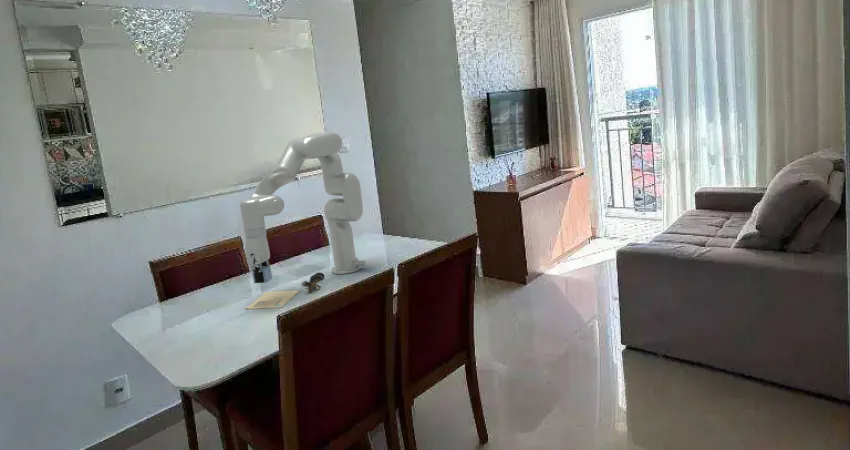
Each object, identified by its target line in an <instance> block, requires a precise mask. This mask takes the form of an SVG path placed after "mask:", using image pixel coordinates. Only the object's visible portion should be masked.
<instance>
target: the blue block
mask: <svg viewBox="0 0 850 450" xmlns="http://www.w3.org/2000/svg"><path fill="white" fill-rule="evenodd" d="M251 272H252V273H251V274H252V279H253V284H257V283H256V282H255V277H254V273H253V270H252V269H251ZM261 272H263V277H264V282H263V283H262V284H267V283H269V282H270V281H271V280H273V274H272V269H271V265H269V266H261Z"/></svg>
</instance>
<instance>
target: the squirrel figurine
mask: <svg viewBox="0 0 850 450" xmlns="http://www.w3.org/2000/svg"><path fill="white" fill-rule="evenodd" d="M324 280H325V274H324V273H323V272H316V273H314V274H313V275H312V276H310V278H309V281H307V280H305V281H302V283H301V287H303V288H305V287H306V288H305V290H308V294H311V293H312V290H313V289H316V290H318V291H320V285H318V284H317V283H320V282H321V281H324Z"/></svg>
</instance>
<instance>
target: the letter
mask: <svg viewBox="0 0 850 450" xmlns="http://www.w3.org/2000/svg"><path fill="white" fill-rule="evenodd" d="M299 292H300V290H298V289H297V290H283V291H281V290H280V291H278V290H277V291H266V292H264V293H263V294H262V295H260V296H259V297H258V298H257V299H255V301H253V302H252V303H251V304H249V305H248V306H247V307H246V308H245V310H258V309H280V308H283V307H284V306H285V305H286V304H287V303H288V302H290V301H291V300H292V298H293V297H295V296H296V295H297V294H298V293H299Z"/></svg>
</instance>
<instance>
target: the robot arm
mask: <svg viewBox="0 0 850 450" xmlns="http://www.w3.org/2000/svg"><path fill="white" fill-rule="evenodd" d="M342 147H343V140H342V136H340V135H339V134H338V133H336V132H333V131H332V132H330V131H329V132H317V133H311V134H309V135H307V136H303V137H295V138H292V139H290V140H289V141H288V143H287V145H286V147H285V148H284V151H283V152H282V153H281V156H280V158H279V160H278V161H277V164H276V165H275V167H274V168H273V169H272V170H271V171H270V172H269V173H268V174H267V175H266V176H264V178H262V179H261V180H260V182H259V183H257V185H256V187H255V189H253V193H252V194H251V196H250V198H247V199H243V200H241V201H240V202H239V207H240V209H239V210H240V213H241V219H242V225H243V231H244V236H245V237H244V239H245V254H246V255H245V257H246V262H247V265H248V266H249V268H250V269H251V271H252V270H253V273H254V277H255V282H256V283H255V284H264V283H263V282H264V277H263V272H261V266H270V258H271V253H270V252H271V251H270V247H269V241H268V238H267V230H266V229H267V228H266V223H265V217H268V216H269V217H270V216H276V215H280V214H281V212H283V210H284V209H285V202H284V200H283V198H282V197H280V196H279V195H274V194H275V192H276V191H278V190H279V189H280V188H282V187H283V186H286V185H287V184H289V183H291V182H293V181H294V180H295V179H296V178H297V176H298V174H299V172H300V170H301V168H302V167H303V164H304V163H305V160H315V159H317V160H318V161H319V162H320V165H321V171H322V179H323V185H324V186H323V187H324V190H325V193H327V194H328V195H330V196H334V197H335V196H337V197H338V196H339V197H340V196H341V197H343V198H339V197H338V198H337V197H336V198H332V199H329V200H328V201H326V203H325V205H324V207H323V208H324V210H323V212H324V216H325V219H326V222H327V225H328V228H329V236H330V237H329V238H330V243H331V249H332V256H333V264H334V267H332V268H331V273H332V274H335V275H346V274H352V273H355V272H357V271H359V270H361V267H363V266H366V265H367V262H366V261H365V260H364V259H362V260H359V258H358V257H357V256H356V249H355V240H354V236H353V235H354V233H353V228H352V226H351V222H357V221H360V219H361V217H362V216H363V213H364V205H363V197H362V190H361V184H360V180H359V178H358V176H357V175H355V174H353V173H350V172H344V168H343V163H342V159H341V157H340V155H339V153H338V152H340V150H341V149H342Z"/></svg>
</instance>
